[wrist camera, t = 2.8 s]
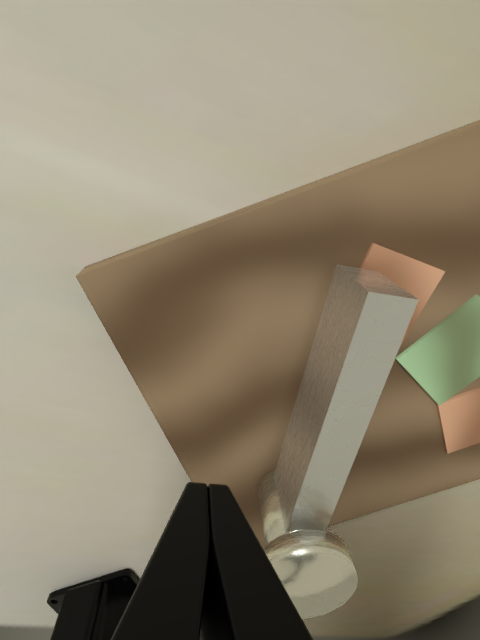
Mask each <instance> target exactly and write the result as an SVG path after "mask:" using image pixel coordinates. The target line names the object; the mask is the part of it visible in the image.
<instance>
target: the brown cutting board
mask: <svg viewBox="0 0 480 640" xmlns="http://www.w3.org/2000/svg"><path fill="white" fill-rule="evenodd" d="M337 264H338V265H343V266H349V267H355V268H361V269H367V270H373V271H378V272H380V273H381V274H382V275H384V276H385V277H387V278H388V279H390V280H391V281H393V282H394V283H395V284H397V285H398V286H400V287H401V288H403V289H404V290H406V291H407V292H408V293H410V294H411V295H413V296H414V297H416V298H417V299H418V303H417V305H416V308H415V310H414V313H413V315H412V318H411V320H410V323H409V325H408V328H407V330H406V333H405V335H404V338H403V340H402V343H401V345H400V348H399V350H398V353H397V355H396V358H395V360H394V363H393V365H392V368H391V370H390V373H389V375H388V378H387V380H386V383H385V385H384V388H383V390H382V393H381V395H380V397H379V400H378V402H377V405H376V407H375V410H374V412H373V415H372V417H371V420H370V422H369V425H368V427H367V430H366V432H365V435H364V437H363V440H362V442H361V445H360V447H359V450H358V452H357V455H356V457H355V460H354V462H353V465H352V467H351V470H350V472H349V475H348V477H347V480H346V482H345V485H344V487H343V490H342V492H341V495H340V497H339V500H338V502H337V504H336V507H335V509H334V512H333V514H332V517H331V519H330V522H329V524H328V526H331V525H334V524H337V523H340V522H343V521H347V520H350V519H353V518H356V517H359V516H363V515H366V514H369V513H372V512H375V511H379V510H382V509H385V508H388V507H391V506H395V505H398V504H401V503H404V502H407V501H411V500H414V499H417V498H420V497H423V496H427V495H430V494H433V493H436V492H439V491H442V490H446V489H449V488H452V487H455V486H458V485H462V484H465V483H468V482H471V481H474V480H478V479H480V120H479V121H476V122H474V123H471V124H468V125H466V126H463V127H460V128H458V129H455V130H452V131H450V132H447V133H444V134H441V135H439V136H436V137H433V138H431V139H428V140H425V141H423V142H420V143H417V144H415V145H412V146H409V147H406V148H404V149H401V150H398V151H396V152H393V153H390V154H388V155H385V156H382V157H380V158H377V159H374V160H371V161H369V162H366V163H363V164H361V165H358V166H355V167H353V168H350V169H347V170H345V171H342V172H339V173H337V174H334V175H331V176H328V177H326V178H323V179H320V180H318V181H315V182H312V183H310V184H307V185H304V186H302V187H299V188H296V189H293V190H291V191H288V192H285V193H283V194H280V195H277V196H275V197H272V198H269V199H267V200H264V201H261V202H259V203H256V204H253V205H250V206H248V207H245V208H242V209H240V210H237V211H234V212H232V213H229V214H226V215H224V216H221V217H218V218H215V219H213V220H210V221H207V222H205V223H202V224H199V225H197V226H194V227H191V228H189V229H186V230H183V231H180V232H178V233H175V234H172V235H170V236H167V237H164V238H162V239H159V240H156V241H154V242H151V243H148V244H146V245H143V246H140V247H137V248H135V249H132V250H129V251H127V252H124V253H121V254H119V255H116V256H113V257H111V258H108V259H105V260H102V261H100V262H97V263H94V264H92V265H89V266H86V267H85V268H84V269H83V270H82V271H81V272H80V273H79V274H78V275H76V278H77V279H78V281H79V283H80V285H81V287H82V288H83V290H84V292H85V294H86V295H87V297H88V299H89V301H90V302H91V304H92V306H93V308H94V310H95V311H96V313H97V315H98V317H99V318H100V320H101V322H102V324H103V326H104V327H105V329H106V331H107V333H108V334H109V336H110V338H111V340H112V342H113V343H114V345H115V347H116V349H117V350H118V352H119V354H120V356H121V358H122V359H123V361H124V363H125V365H126V366H127V368H128V370H129V372H130V374H131V375H132V377H133V379H134V381H135V382H136V384H137V386H138V388H139V389H140V391H141V393H142V395H143V397H144V398H145V400H146V402H147V404H148V405H149V407H150V409H151V411H152V413H153V414H154V416H155V418H156V420H157V421H158V423H159V425H160V427H161V429H162V430H163V432H164V434H165V436H166V437H167V439H168V441H169V443H170V445H171V446H172V448H173V450H174V452H175V453H176V455H177V457H178V459H179V461H180V462H181V464H182V466H183V468H184V469H185V471H186V473H187V475H188V476H189V478H190V480H191V482H198V483H206V484H207V486H208V485H209V484H211V483H212V484H225V485H227V486H228V487H229V488H230V490H231V492H232V493H233V495H234V497H235V499H236V501H237V502H238V504H239V506H240V508H241V510H242V512H243V513H244V515H245V517H246V519H247V521H248V522H249V524H250V526H251V528H252V530H253V531H254V533H255V535H256V537H257V539H258V540H259V542H260V544H261V546H262V547H263V546H265V545H266V542H265V536H264V529H263V523H262V517H261V510H260V504H259V497H258V491H257V489H258V484H259V482H260V480H261V479H262V478H263V477H264V476H265V475H266V474H267V473H269V472H271V471H273V470H275V469H276V466H277V462H278V459H279V456H280V452H281V449H282V446H283V442H284V439H285V436H286V432H287V429H288V426H289V422H290V419H291V416H292V412H293V409H294V406H295V402H296V399H297V396H298V392H299V389H300V386H301V382H302V379H303V375H304V372H305V369H306V365H307V362H308V359H309V355H310V352H311V349H312V345H313V342H314V339H315V335H316V332H317V329H318V325H319V322H320V319H321V315H322V312H323V309H324V305H325V302H326V299H327V295H328V292H329V289H330V285H331V282H332V278H333V275H334V272H335V268H336V265H337Z"/></svg>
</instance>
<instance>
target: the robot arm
mask: <svg viewBox="0 0 480 640" xmlns="http://www.w3.org/2000/svg"><path fill="white" fill-rule="evenodd" d="M47 603H48V604H49V605H50V606H51V607H52V608H53V609H54V610H55V611H56V612H57V613H58V617H57V620H56V623H55V627H54V630H53V633H52V636H51V640H313V638H312V636H311V635H310V633H309V631H308V629H307V627H306V626H305V624H304V622H303V620H302V618H301V616H300V615H299V613H298V611H297V609H296V607H295V606H294V604H293V602H292V600H291V598H290V597H289V595H288V593H287V591H286V589H285V588H284V586H283V584H282V582H281V580H280V578H279V577H278V575H277V573H276V571H275V569H274V568H273V566H272V564H271V562H270V560H269V559H268V557H267V555H266V553H265V551H264V550H263V548H262V546H261V544H260V542H259V540H258V539H257V537H256V535H255V533H254V531H253V530H252V528H251V526H250V524H249V522H248V521H247V519H246V517H245V515H244V513H243V512H242V510H241V508H240V506H239V504H238V502H237V501H236V499H235V497H234V495H233V493H232V492H231V490H230V488H229V487H228V486H227V485H225V484H212V483H211V484H209V485H208V486H207V484H206V483H198V482H189V483H187V485H186V486H185V489H184V491H183V493H182V495H181V497H180V499H179V501H178V503H177V505H176V507H175V509H174V511H173V513H172V515H171V517H170V519H169V521H168V523H167V525H166V527H165V530H164V532H163V534H162V536H161V538H160V540H159V542H158V544H157V546H156V548H155V550H154V552H153V554H152V556H151V558H150V560H149V562H148V564H147V566H146V568H145V571H144V573H143V575H142V577H141V579H140V581H139V580H138V579H137V578H136V576H135V575H134V574H133V572H132V571H130V570H121V571H118V572H115V573H112V574H108V575H105V576H102V577H99V578H96V579H93V580H90V581H86V582H83V583H80V584H77V585H74V586H71V587H67V588H64V589H61V590H58V591H55V592H52V593H50V594H49V597H48V600H47Z"/></svg>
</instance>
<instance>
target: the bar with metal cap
mask: <svg viewBox="0 0 480 640" xmlns="http://www.w3.org/2000/svg"><path fill="white" fill-rule="evenodd" d="M417 303H418V299H417V298H416V297H414V296H413V295H411V294H410V293H408V292H407V291H406V290H404V289H403V288H401V287H400V286H398V285H397V284H395V283H394V282H393V281H391V280H390V279H388V278H387V277H385V276H384V275H382V274H381V273H380V272H378V271H373V270H367V269H361V268H355V267H349V266H343V265H338V264H337V265H336V268H335V272H334V275H333V278H332V282H331V285H330V289H329V292H328V295H327V299H326V302H325V305H324V309H323V312H322V315H321V319H320V322H319V325H318V329H317V332H316V335H315V339H314V342H313V345H312V349H311V352H310V355H309V359H308V362H307V365H306V369H305V372H304V375H303V379H302V382H301V386H300V389H299V392H298V396H297V399H296V402H295V406H294V409H293V412H292V416H291V419H290V422H289V426H288V429H287V432H286V436H285V439H284V442H283V446H282V449H281V452H280V456H279V459H278V462H277V466H276V469H275V470H273V471H271V472H269V473H267V474H266V475H265V476H264V477H263V478H262V479H261V480H260V482H259V484H258V489H257V491H258V497H259V504H260V510H261V517H262V523H263V529H264V536H265V542H266V545H265V546H264V547H263V550H264V551H265V553H266V555H267V557H268V559H269V560H270V562H271V564H272V566H273V568H274V569H275V571H276V573H277V575H278V577H279V578H280V580H281V582H282V584H283V586H284V588H285V589H286V591H287V593H288V595H289V597H290V598H291V600H292V602H293V604H294V606H295V607H296V609H297V611H298V613H299V615H300V616H301V618H302V619H308V618H314V617H318V616H321V615H324V614H327V613H329V612H331V611H333V610H335V609H337V608H339V607H340V606H342V605H343V604H344V603H346V602H347V601H348V600H349V599H350V598H351V596H352V595H353V594H354V592H355V590H356V588H357V585H358V576H357V572H356V569H355V567H354V564H353V561H352V558H351V555H350V553H349V550H348V547H347V545H346V544H345V542H344V541H343V540H342V539H341V538H339V537H338V536H336V535H334V534H332V533H329V532H326V529H327V527H328V524H329V522H330V519H331V517H332V514H333V512H334V509H335V507H336V504H337V502H338V500H339V497H340V495H341V492H342V490H343V487H344V485H345V482H346V480H347V477H348V475H349V472H350V470H351V467H352V465H353V462H354V460H355V457H356V455H357V452H358V450H359V447H360V445H361V442H362V440H363V437H364V435H365V432H366V430H367V427H368V425H369V422H370V420H371V417H372V415H373V412H374V410H375V407H376V405H377V402H378V400H379V397H380V395H381V393H382V390H383V388H384V385H385V383H386V380H387V378H388V375H389V373H390V370H391V368H392V365H393V363H394V360H395V358H396V355H397V353H398V350H399V348H400V345H401V343H402V340H403V338H404V335H405V333H406V330H407V328H408V325H409V323H410V320H411V318H412V315H413V313H414V310H415V308H416V305H417Z"/></svg>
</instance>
